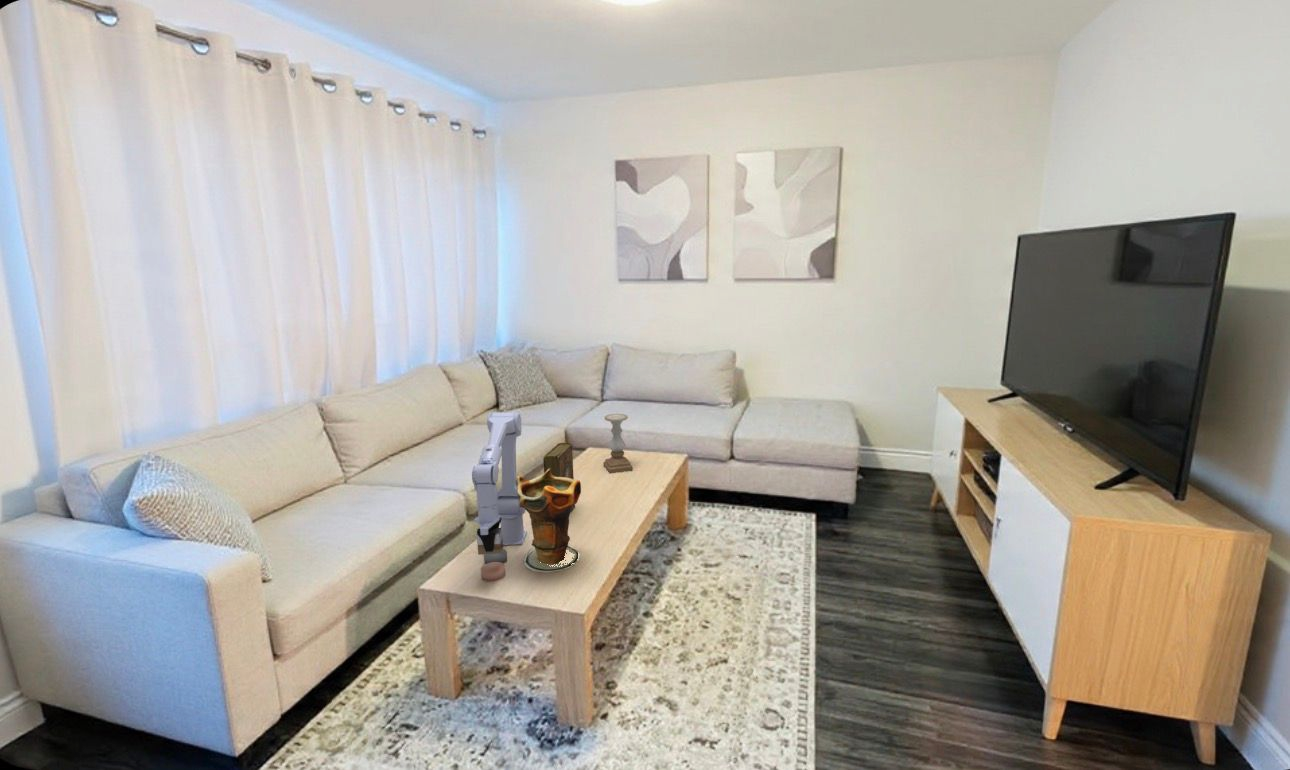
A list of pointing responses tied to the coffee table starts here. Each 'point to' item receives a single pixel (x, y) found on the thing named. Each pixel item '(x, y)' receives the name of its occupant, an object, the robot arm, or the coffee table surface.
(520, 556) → the coffee table surface
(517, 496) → the robot arm
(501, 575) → the stand
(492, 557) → the stand
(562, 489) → the decorative vase
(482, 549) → the housing
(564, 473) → the book
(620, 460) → the candle holder
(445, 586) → the coffee table surface
